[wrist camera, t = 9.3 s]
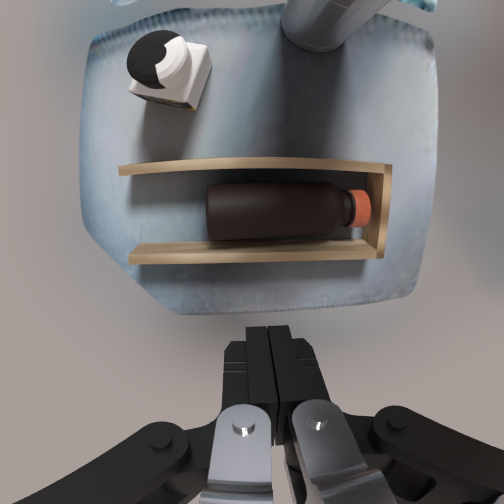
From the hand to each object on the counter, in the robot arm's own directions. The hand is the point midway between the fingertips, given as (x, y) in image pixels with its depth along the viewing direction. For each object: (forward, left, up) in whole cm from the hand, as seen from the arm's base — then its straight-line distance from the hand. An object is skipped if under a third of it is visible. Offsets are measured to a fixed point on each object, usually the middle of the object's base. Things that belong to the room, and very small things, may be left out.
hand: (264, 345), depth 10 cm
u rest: (0, +2, -29) cm, 29 cm away
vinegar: (+1, -5, -26) cm, 26 cm away
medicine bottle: (-17, -8, -29) cm, 35 cm away
